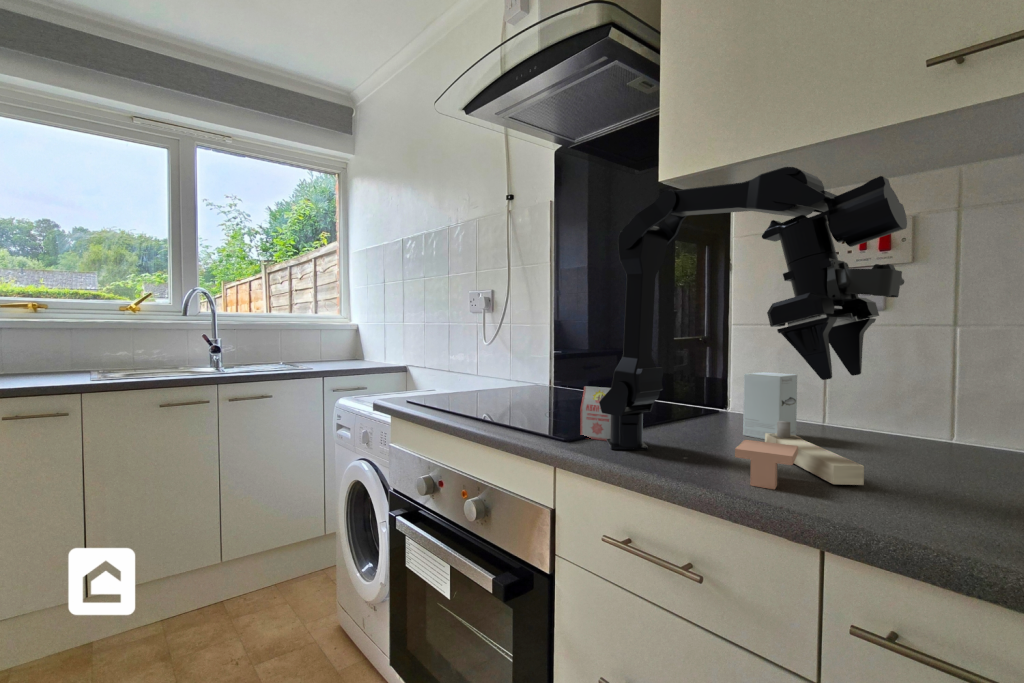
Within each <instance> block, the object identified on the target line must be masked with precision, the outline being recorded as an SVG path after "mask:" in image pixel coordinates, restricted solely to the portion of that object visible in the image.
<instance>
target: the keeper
mask: <svg viewBox="0 0 1024 683" xmlns="http://www.w3.org/2000/svg"><path fill="white" fill-rule="evenodd" d="M797 455H798V446H795V445H786V444H778V443H770V442H765V441H759V440H751V439H743V440H742V441H741V443H740V444H739V445H738V446H736V447H735V448H734V458H738V459H745V460H750V473H749V474H750V476H749V477H750V480H749V482H750V484H749V485H750V486H752V487H757V488H764V489H769V490H775V489H776V488H777V486H778V464H780V465H785V466H786V465H787V466H793V464H794V461H795V459H796V457H797Z"/></svg>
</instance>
